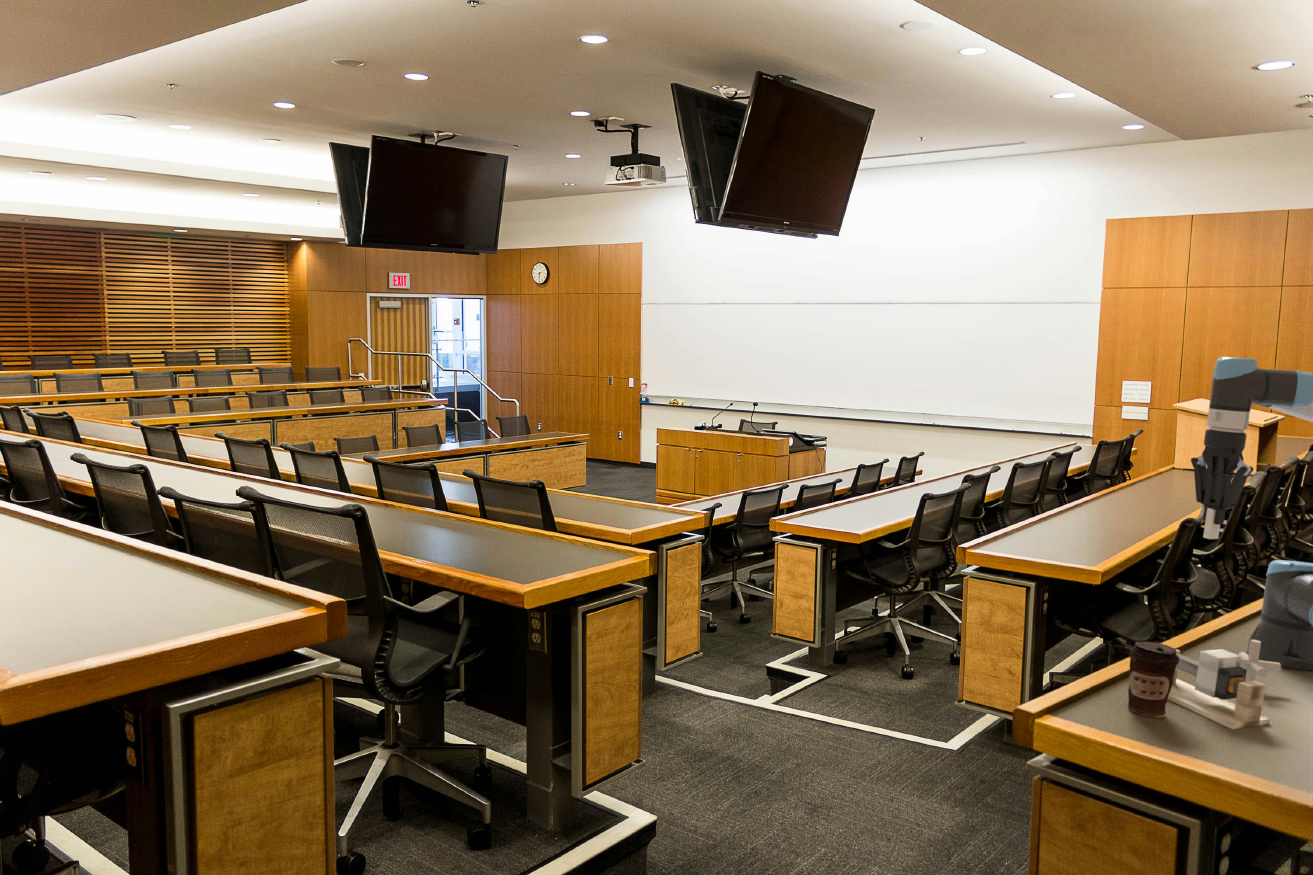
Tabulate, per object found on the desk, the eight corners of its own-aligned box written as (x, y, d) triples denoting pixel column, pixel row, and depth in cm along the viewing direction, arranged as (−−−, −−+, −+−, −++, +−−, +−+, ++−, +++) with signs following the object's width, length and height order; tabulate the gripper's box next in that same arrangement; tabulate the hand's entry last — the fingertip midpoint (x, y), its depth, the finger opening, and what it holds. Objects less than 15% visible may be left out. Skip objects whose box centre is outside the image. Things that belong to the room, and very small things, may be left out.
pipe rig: (1176, 683, 193) (1181, 646, 192) (1269, 723, 175) (1275, 683, 174) (1141, 687, 190) (1146, 649, 189) (1232, 728, 171) (1238, 687, 170)
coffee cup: (1171, 725, 171) (1180, 657, 169) (1121, 713, 175) (1130, 647, 173) (1171, 709, 179) (1180, 645, 177) (1123, 698, 183) (1132, 635, 181)
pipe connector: (1286, 699, 188) (1293, 652, 187) (1232, 692, 190) (1239, 645, 189) (1264, 681, 198) (1271, 636, 197) (1213, 674, 200) (1220, 630, 199)
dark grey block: (1234, 693, 179) (1239, 666, 178) (1242, 697, 178) (1247, 669, 177) (1214, 696, 177) (1218, 668, 176) (1222, 699, 175) (1226, 671, 175)
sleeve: (1216, 686, 183) (1222, 648, 182) (1235, 694, 179) (1241, 656, 178) (1194, 689, 181) (1200, 650, 180) (1213, 697, 177) (1219, 658, 176)
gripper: (1186, 425, 201) (1171, 531, 204) (1242, 433, 189) (1226, 545, 192) (1210, 426, 204) (1196, 530, 207) (1268, 434, 192) (1251, 545, 195)
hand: (1210, 537), depth 200 cm, fingers closed
